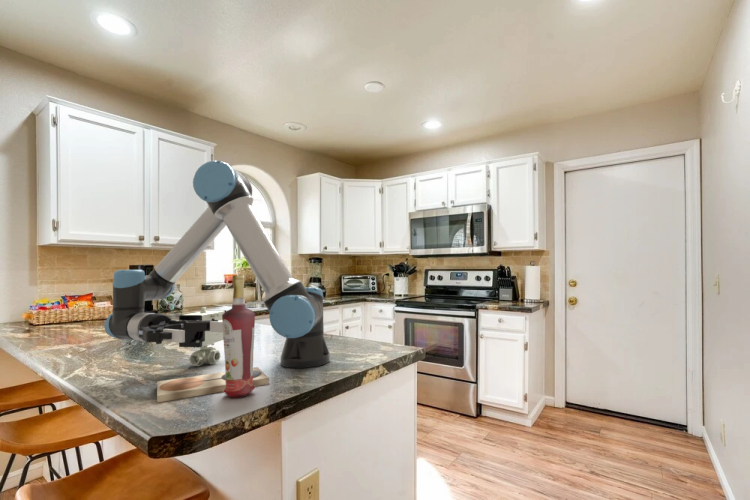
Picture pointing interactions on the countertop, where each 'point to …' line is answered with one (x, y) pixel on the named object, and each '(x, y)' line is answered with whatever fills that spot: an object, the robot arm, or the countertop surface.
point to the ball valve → (203, 337)
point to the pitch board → (200, 385)
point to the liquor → (238, 343)
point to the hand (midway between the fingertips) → (207, 331)
